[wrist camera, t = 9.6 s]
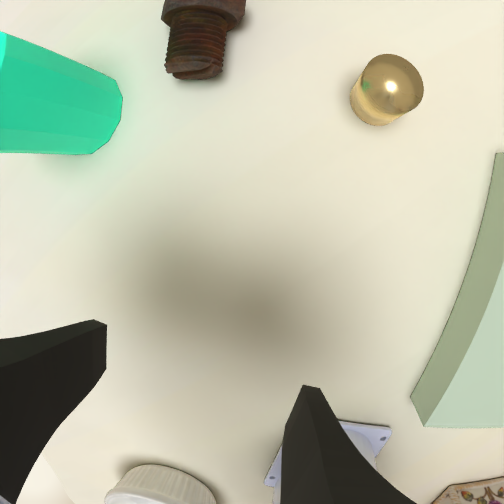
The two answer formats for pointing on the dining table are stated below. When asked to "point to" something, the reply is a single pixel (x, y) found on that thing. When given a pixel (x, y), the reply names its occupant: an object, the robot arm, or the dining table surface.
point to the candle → (53, 102)
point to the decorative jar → (474, 493)
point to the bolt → (198, 35)
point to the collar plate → (472, 335)
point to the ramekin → (159, 487)
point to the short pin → (386, 90)
